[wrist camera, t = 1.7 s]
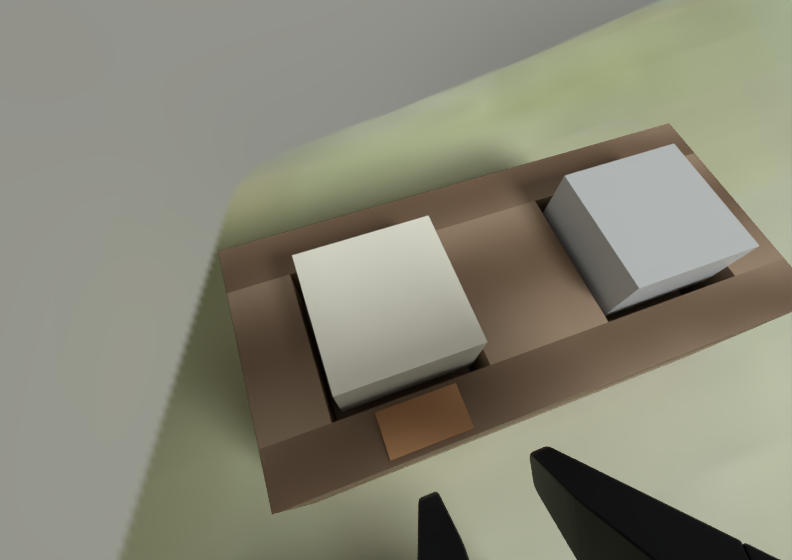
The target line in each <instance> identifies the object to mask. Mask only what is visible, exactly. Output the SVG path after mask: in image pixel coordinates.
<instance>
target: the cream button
mask: <svg viewBox="0 0 792 560" xmlns="http://www.w3.org/2000/svg"><path fill="white" fill-rule="evenodd" d="M292 257H293V261H294V264H295V268H296V271H297V275H298V278H299V281H300V285H301V288H302V292H303V295H304V299H305V302H306V306H307V309H308V313H309V316H310V320H311V323H312V326H313V330H314V333H315V337H316V340H317V344H318V347H319V351H320V354H321V358H322V361H323V365H324V368H325V371H326V375H327V378H328V382H329V385H330V389H331V392H332V396H333V398H334V400H335V401H336V403H337V404H338V406H339V408H340V409H341V411H342V412H344V411H346V410H349V409H352V408H355V407H357V406H360V405H363V404H366V403H369V402H371V401H374V400H377V399H380V398H382V397H385V396H388V395H391V394H393V393H396V392H399V391H402V390H404V389H407V388H410V387H413V386H416V385H418V384H421V383H424V382H427V381H429V380H432V379H435V378H438V377H440V376H443V375H446V374H449V373H452V372H454V371H457V370H460V369H463V368H465V367H468V366H471V365H472V363H473V362H474V361H475V359H476V358H477V356H478V355H479V354H480V352H481V351H482V349H483V348H484V347H485V345H486V344H487V339H486V337H485V335H484V333H483V331H482V329H481V327H480V325H479V322H478V320H477V318H476V316H475V314H474V312H473V310H472V307H471V305H470V303H469V301H468V299H467V297H466V295H465V292H464V290H463V288H462V286H461V284H460V282H459V280H458V277H457V275H456V273H455V271H454V269H453V267H452V265H451V262H450V260H449V258H448V256H447V254H446V252H445V250H444V248H443V245H442V243H441V241H440V239H439V237H438V235H437V233H436V230H435V228H434V226H433V224H432V222H431V220H430V218H429V215H428V216H425V217H421V218H418V219H415V220H411V221H408V222H404V223H401V224H398V225H394V226H391V227H387V228H384V229H380V230H377V231H374V232H370V233H367V234H363V235H360V236H357V237H353V238H350V239H346V240H343V241H340V242H336V243H333V244H329V245H326V246H322V247H319V248H316V249H312V250H309V251H305V252H302V253H299V254H295V255H292Z"/></svg>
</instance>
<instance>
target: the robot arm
mask: <svg viewBox="0 0 792 560" xmlns="http://www.w3.org/2000/svg"><path fill="white" fill-rule="evenodd" d="M530 463H531V469H532V476H533V482H534V486H535V488H536V491H537V493H538V494H539V496H540V498H541V500H542V501H543V503H544V505H545V506H546V508H547V510H548V511H549V513H550V515H551V517H552V518H553V520H554V522H555V523H556V525H557V527H558V528H559V530H560V532H561V534H562V535H563V537H564V539H565V540H566V542H567V544H568V545H569V547H570V549H571V551H572V552H573V554H574V556H575V557H576V559H577V560H780V559H777V558H775V557H773V556H771V555H769V554H767V553H765V552H763V551H761V550H759V549H757V548H755V547H753V546H751V545H749V544H746V543H744V544H742V542H741V541H740V540H738V539H736V538H734V537H732V536H730V535H728V534H726V533H724V532H722V531H720V530H718V529H716V528H714V527H712V526H710V525H708V524H706V523H704V522H702V521H700V520H698V519H695V518H693V517H691V516H689V515H687V514H685V513H683V512H681V511H679V510H677V509H675V508H673V507H671V506H669V505H667V504H665V503H663V502H661V501H659V500H657V499H655V498H653V497H651V496H649V495H647V494H645V493H643V492H641V491H639V490H637V489H635V488H632V487H630V486H628V485H626V484H624V483H622V482H620V481H618V480H616V479H614V478H612V477H610V476H608V475H606V474H604V473H602V472H600V471H598V470H596V469H594V468H592V467H590V466H588V465H586V464H584V463H582V462H580V461H578V460H576V459H574V458H571V457H569V456H567V455H565V454H563V453H561V452H559V451H557V450H555V449H553V448H551V447H543V448H541V449H538V450H536V451H533V452H532V453H531V454H530ZM418 560H469V558H468V555H467V552H466V549H465V546H464V544H463V542H462V539H461V537H460V535H459V533H458V531H457V529H456V527H455V525H454V523H453V521H452V519H451V517H450V515H449V513H448V511H447V509H446V507H445V505H444V503H443V501H442V499H441V497H440V495H439V494H438V493H437V492H433V493H431V494H428V495H426V496H424V497H421V498H420V499H419V503H418Z"/></svg>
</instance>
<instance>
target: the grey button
mask: <svg viewBox="0 0 792 560" xmlns="http://www.w3.org/2000/svg"><path fill="white" fill-rule="evenodd" d="M543 215H544V217H545V218H546V220H547V222H548V223H549V225H550V227H551V228H552V230H553V231H554V233H555V235H556V236H557V238H558V240H559V241H560V243H561V245H562V246H563V248H564V250H565V251H566V253H567V255H568V256H569V258H570V260H571V261H572V263H573V264H574V266H575V268H576V269H577V271H578V273H579V274H580V276H581V278H582V279H583V281H584V283H585V284H586V286H587V288H588V289H589V291H590V292H591V294H592V296H593V297H594V299H595V301H596V302H597V304H598V306H599V307H600V309H601V311H602V312H603V314H604V316H605V317H606V316H609V315H612V314H615V313H618V312H620V311H623V310H626V309H629V308H631V307H634V306H637V305H640V304H642V303H645V302H648V301H651V300H654V299H656V298H659V297H662V296H665V295H667V294H670V293H673V292H676V291H678V290H681V289H684V288H687V287H689V286H692V285H695V284H698V283H701V282H703V281H705V280H707V279H708V278H710V277H712V276H713V275H715V274H716V273H718V272H719V271H721V270H723V269H724V268H726V267H727V266H729V265H730V264H732V263H733V262H735V261H737V260H738V259H740V258H741V257H743V256H744V255H746V254H748V253H749V252H751V251H752V250H754V249H755V248H757V247H758V246H759V244H758V243H757V242H756V241H755V240H754V238H753V237H752V236H751V235H750V234H749V232H748V231H747V230H746V229H745V228H744V226H743V225H742V224H741V223H740V222H739V221H738V219H737V218H736V217H735V216H734V215H733V213H732V212H731V211H730V210H729V209H728V207H727V206H726V205H725V204H724V203H723V201H722V200H721V199H720V198H719V197H718V195H717V194H716V193H715V192H714V191H713V189H712V188H711V187H710V186H709V185H708V183H707V182H706V181H705V180H704V179H703V177H702V176H701V175H700V174H699V173H698V171H697V170H696V169H695V168H694V167H693V165H692V164H691V163H690V162H689V161H688V159H687V158H686V157H685V156H684V155H683V154H682V152H681V151H680V150H679V149H678V148H677V146H676V145H675V144H671V145H667V146H664V147H660V148H657V149H654V150H650V151H647V152H643V153H640V154H636V155H633V156H630V157H626V158H623V159H619V160H616V161H613V162H609V163H606V164H602V165H599V166H596V167H592V168H589V169H585V170H582V171H578V172H575V173H572V174H568V175H565V176H564V177H563V179H562V181H561V183H560V184H559V186H558V188H557V190H556V191H555V193H554V195H553V197H552V198H551V200H550V202H549V203H548V205H547V207H546V209H545V210H544V212H543Z"/></svg>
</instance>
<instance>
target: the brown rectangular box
mask: <svg viewBox="0 0 792 560" xmlns="http://www.w3.org/2000/svg"><path fill="white" fill-rule="evenodd" d="M671 144H675V145H676V146H677V148H678V149H679V150H680V151H681V152H682V154H683V155H684V156H685V157H686V158H687V159H688V161H689V162H690V163H691V164H692V165H693V167H694V168H695V169H696V170H697V171H698V173H699V174H700V175H701V176H702V177H703V179H704V180H705V181H706V182H707V183H708V185H709V186H710V187H711V188H712V189H713V191H714V192H715V193H716V194H717V195H718V197H719V198H720V199H721V200H722V201H723V203H724V204H725V205H726V206H727V207H728V209H729V210H730V211H731V212H732V213H733V215H734V216H735V217H736V218H737V219H738V221H739V222H740V223H741V224H742V225H743V226H744V228H745V229H746V230H747V231H748V232H749V234H750V235H751V236H752V237H753V238H754V240H755V241H756V242H757V243H758V244H759V246H758V247H757V248H755V249H754V250H752V251H751V252H749V253H748V254H746V255H744V256H743V257H741V258H740V259H738V260H737V261H735V262H733V263H732V264H730V265H729V266H727V267H726V268H724V269H723V270H721V271H719V272H718V273H716V274H715V275H713V276H712V277H710V278H708V279H707V280H705V281H703V282H701V283H698V284H695V285H692V286H689V287H687V288H684V289H681V290H678V291H676V292H673V293H670V294H667V295H665V296H662V297H659V298H656V299H654V300H651V301H648V302H645V303H642V304H640V305H637V306H634V307H631V308H629V309H626V310H623V311H620V312H618V313H615V314H612V315H609V316H606V317H605V316H604V314H603V312H602V311H601V309H600V307H599V306H598V304H597V302H596V301H595V299H594V297H593V296H592V294H591V292H590V291H589V289H588V288H587V286H586V284H585V283H584V281H583V279H582V278H581V276H580V274H579V273H578V271H577V269H576V268H575V266H574V264H573V263H572V261H571V260H570V258H569V256H568V255H567V253H566V251H565V250H564V248H563V246H562V245H561V243H560V241H559V240H558V238H557V236H556V235H555V233H554V231H553V230H552V228H551V227H550V225H549V223H548V222H547V220H546V218H545V217H544V215H543V212H544V210H545V209H546V207H547V205H548V203H549V202H550V200H551V198H552V197H553V195H554V193H555V191H556V190H557V188H558V186H559V184H560V183H561V181H562V179H563V177H564V176H565V175H568V174H572V173H575V172H578V171H582V170H585V169H589V168H592V167H596V166H599V165H602V164H606V163H609V162H613V161H616V160H619V159H623V158H626V157H630V156H633V155H636V154H640V153H643V152H647V151H650V150H654V149H657V148H660V147H664V146H667V145H671ZM428 215H429V218H430V220H431V222H432V224H433V226H434V228H435V230H436V233H437V235H438V237H439V239H440V241H441V243H442V245H443V248H444V250H445V252H446V254H447V256H448V258H449V260H450V262H451V265H452V267H453V269H454V271H455V273H456V275H457V277H458V280H459V282H460V284H461V286H462V288H463V290H464V292H465V295H466V297H467V299H468V301H469V303H470V305H471V307H472V310H473V312H474V314H475V316H476V318H477V320H478V322H479V325H480V327H481V329H482V331H483V333H484V335H485V337H486V339H487V344H486V345H485V347H484V348H483V349H482V351H481V352H480V354H479V355H478V356H477V358H476V359H475V361H474V362H473V363H472V365H471V366H468V367H465V368H463V369H460V370H457V371H454V372H452V373H449V374H446V375H443V376H440V377H438V378H435V379H432V380H429V381H427V382H424V383H421V384H418V385H416V386H413V387H410V388H407V389H404V390H402V391H399V392H396V393H393V394H391V395H388V396H385V397H382V398H380V399H377V400H374V401H371V402H369V403H366V404H363V405H360V406H357V407H355V408H352V409H349V410H346V411H344V412H342V411H341V409H340V408H339V406H338V404H337V403H336V401H335V400H334V398H333V396H332V392H331V389H330V385H329V382H328V378H327V375H326V371H325V368H324V365H323V361H322V358H321V354H320V351H319V347H318V344H317V340H316V337H315V333H314V330H313V326H312V323H311V320H310V316H309V313H308V309H307V306H306V302H305V299H304V295H303V292H302V288H301V285H300V281H299V278H298V275H297V271H296V268H295V264H294V261H293V257H292V255H295V254H299V253H302V252H305V251H309V250H312V249H316V248H319V247H322V246H326V245H329V244H333V243H336V242H340V241H343V240H346V239H350V238H353V237H357V236H360V235H363V234H367V233H370V232H374V231H377V230H380V229H384V228H387V227H391V226H394V225H398V224H401V223H404V222H408V221H411V220H415V219H418V218H421V217H425V216H428ZM218 253H219V258H220V263H221V268H222V273H223V277H224V282H225V287H226V292H227V297H228V302H229V307H230V312H231V317H232V321H233V326H234V331H235V336H236V341H237V346H238V351H239V356H240V360H241V365H242V370H243V375H244V380H245V385H246V390H247V395H248V399H249V404H250V409H251V414H252V419H253V424H254V429H255V434H256V438H257V443H258V448H259V453H260V458H261V463H262V468H263V473H264V477H265V482H266V487H267V492H268V497H269V502H270V507H271V512H272V514H275V513H279V512H282V511H286V510H290V509H294V508H298V507H302V506H305V505H309V504H313V503H315V502H318V501H320V500H323V499H326V498H328V497H331V496H333V495H336V494H338V493H341V492H343V491H346V490H348V489H351V488H354V487H356V486H359V485H361V484H364V483H366V482H369V481H371V480H374V479H376V478H379V477H381V476H384V475H387V474H389V473H392V472H394V471H397V470H399V469H402V468H404V467H407V466H409V465H412V464H415V463H417V462H420V461H422V460H425V459H427V458H430V457H432V456H435V455H437V454H440V453H442V452H445V451H448V450H450V449H453V448H455V447H458V446H460V445H463V444H465V443H468V442H470V441H473V440H476V439H478V438H481V437H483V436H486V435H488V434H491V433H493V432H496V431H498V430H501V429H504V428H506V427H509V426H511V425H514V424H516V423H519V422H521V421H524V420H526V419H529V418H531V417H534V416H537V415H539V414H542V413H544V412H547V411H549V410H552V409H554V408H557V407H559V406H562V405H565V404H567V403H570V402H572V401H575V400H577V399H580V398H582V397H585V396H587V395H590V394H592V393H595V392H598V391H600V390H603V389H605V388H608V387H610V386H613V385H615V384H618V383H620V382H623V381H626V380H628V379H631V378H633V377H636V376H638V375H641V374H643V373H646V372H648V371H651V370H654V369H656V368H659V367H661V366H664V365H666V364H669V363H671V362H674V361H676V360H679V359H681V358H684V357H687V356H689V355H692V354H694V353H696V352H699V351H701V350H703V349H706V348H708V347H710V346H713V345H715V344H717V343H720V342H722V341H724V340H727V339H729V338H731V337H734V336H736V335H738V334H741V333H743V332H746V331H748V330H750V329H753V328H755V327H757V326H760V325H762V324H764V323H767V322H769V321H771V320H774V319H776V318H778V317H781V316H783V315H785V314H788V313H790V312H792V267H791V266H790V265H789V264H788V262H787V261H786V260H785V259H784V258H783V257H782V255H781V254H780V253H779V252H778V251H777V249H776V248H775V247H774V246H773V245H772V244H771V242H770V241H769V240H768V239H767V238H766V237H765V235H764V234H763V233H762V232H761V231H760V230H759V228H758V227H757V226H756V225H755V224H754V222H753V221H752V220H751V219H750V218H749V217H748V215H747V214H746V213H745V212H744V211H743V210H742V208H741V207H740V206H739V205H738V204H737V203H736V201H735V200H734V199H733V198H732V197H731V195H730V194H729V193H728V192H727V191H726V190H725V188H724V187H723V186H722V185H721V184H720V183H719V181H718V180H717V179H716V178H715V177H714V176H713V174H712V173H711V172H710V171H709V170H708V168H707V167H706V166H705V165H704V164H703V163H702V161H701V160H700V159H699V158H698V157H697V156H696V154H695V153H694V152H693V151H692V150H691V149H690V147H689V146H688V145H687V144H686V143H685V141H684V140H683V139H682V138H681V137H680V136H679V134H678V133H677V132H676V131H675V130H674V129H673V127H672V126H671V125H670V124H665V125H662V126H658V127H655V128H651V129H647V130H644V131H640V132H637V133H633V134H630V135H626V136H623V137H619V138H616V139H612V140H609V141H605V142H602V143H598V144H594V145H591V146H587V147H584V148H580V149H577V150H573V151H570V152H566V153H563V154H559V155H556V156H552V157H549V158H545V159H541V160H538V161H534V162H531V163H527V164H524V165H520V166H517V167H513V168H510V169H506V170H503V171H499V172H496V173H492V174H488V175H485V176H481V177H478V178H474V179H471V180H467V181H464V182H460V183H457V184H453V185H450V186H446V187H443V188H439V189H435V190H432V191H428V192H425V193H421V194H418V195H414V196H411V197H407V198H404V199H400V200H397V201H393V202H390V203H386V204H382V205H379V206H375V207H372V208H368V209H365V210H361V211H358V212H354V213H351V214H347V215H344V216H340V217H337V218H333V219H329V220H326V221H322V222H319V223H315V224H312V225H308V226H305V227H301V228H298V229H294V230H291V231H287V232H284V233H280V234H276V235H273V236H269V237H266V238H262V239H259V240H255V241H252V242H248V243H245V244H241V245H238V246H234V247H231V248H227V249H223V250H220V251H218Z"/></svg>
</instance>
